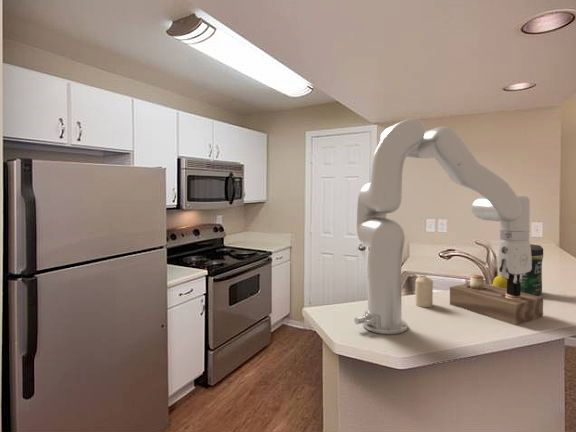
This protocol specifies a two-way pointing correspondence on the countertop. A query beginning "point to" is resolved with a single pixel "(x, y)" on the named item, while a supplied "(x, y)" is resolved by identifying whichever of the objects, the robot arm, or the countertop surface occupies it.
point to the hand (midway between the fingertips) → (513, 294)
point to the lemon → (500, 282)
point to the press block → (497, 303)
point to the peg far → (476, 282)
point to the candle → (424, 292)
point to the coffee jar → (533, 273)
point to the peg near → (512, 297)
